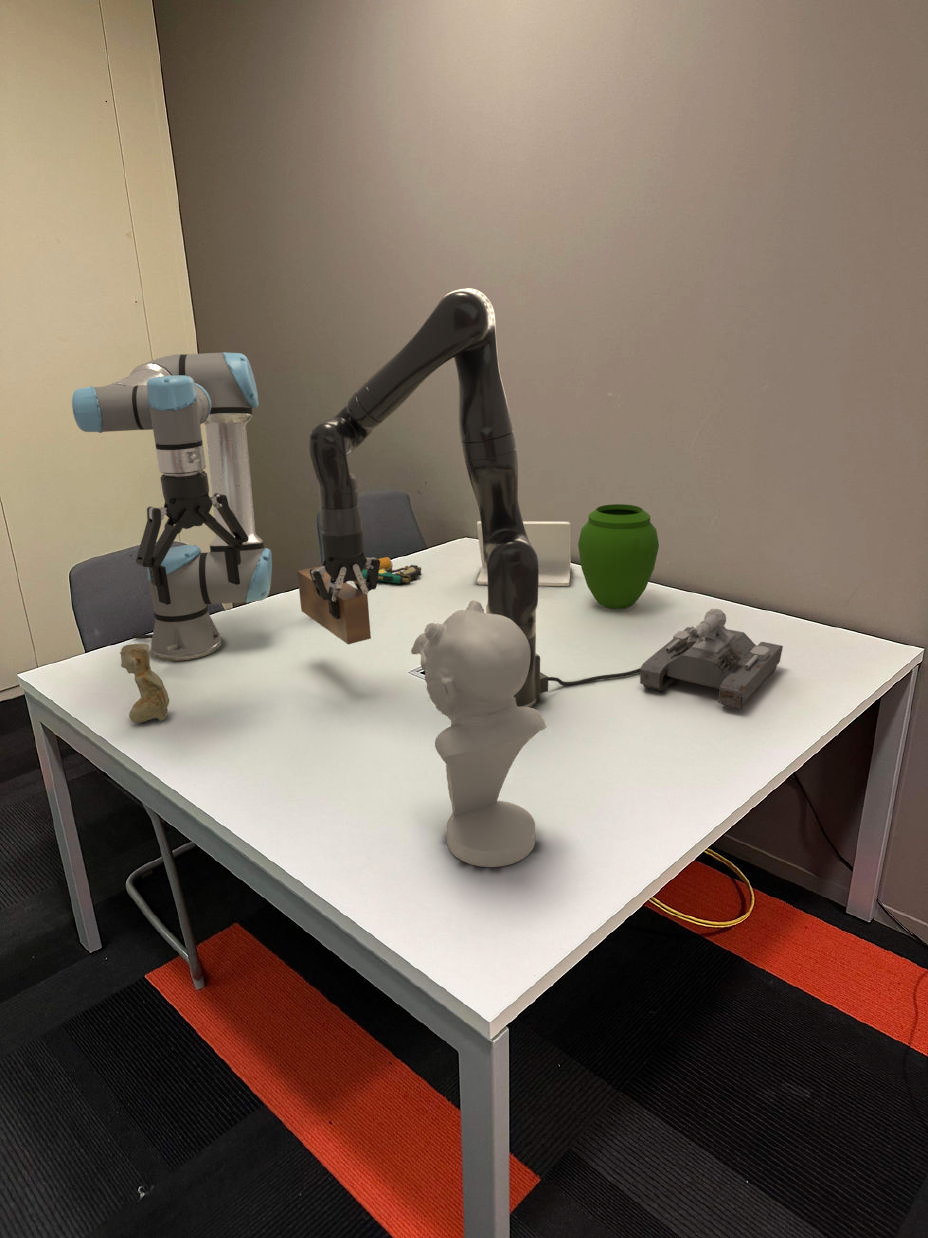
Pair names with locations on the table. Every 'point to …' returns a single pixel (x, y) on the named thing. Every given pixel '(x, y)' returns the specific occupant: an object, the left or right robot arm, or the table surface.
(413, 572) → the spray gun
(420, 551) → the table surface
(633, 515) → the vase
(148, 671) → the sculpture
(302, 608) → the bar
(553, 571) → the tablet stand
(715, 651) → the toy
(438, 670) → the bust sculpture
